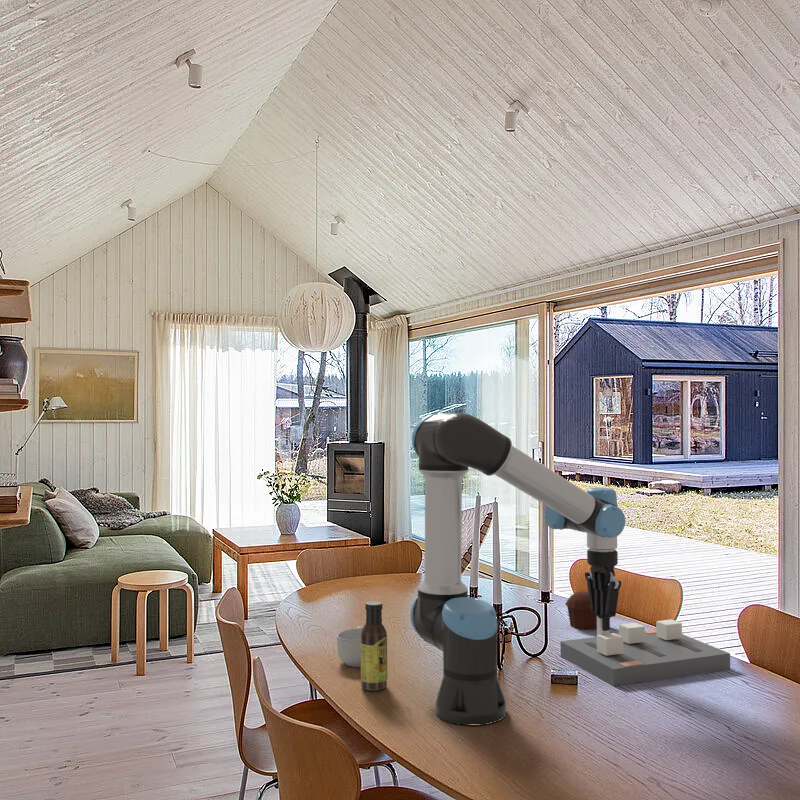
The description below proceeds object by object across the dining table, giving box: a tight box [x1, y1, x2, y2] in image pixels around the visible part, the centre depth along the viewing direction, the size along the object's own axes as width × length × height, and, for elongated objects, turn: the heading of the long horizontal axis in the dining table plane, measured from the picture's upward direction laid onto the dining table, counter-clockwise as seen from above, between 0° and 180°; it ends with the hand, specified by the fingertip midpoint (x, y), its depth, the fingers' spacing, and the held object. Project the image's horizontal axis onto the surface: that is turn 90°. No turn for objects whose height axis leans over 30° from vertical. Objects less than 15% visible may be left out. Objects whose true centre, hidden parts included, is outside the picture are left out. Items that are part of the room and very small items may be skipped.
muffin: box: [565, 591, 597, 631], centre depth 237 cm, size 12×11×10 cm
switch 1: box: [596, 632, 623, 656], centre depth 197 cm, size 4×5×4 cm
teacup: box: [336, 626, 363, 668], centre depth 206 cm, size 14×11×8 cm
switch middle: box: [618, 622, 646, 644], centre depth 206 cm, size 4×5×4 cm
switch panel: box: [559, 629, 731, 687], centre depth 202 cm, size 24×34×4 cm
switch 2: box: [655, 619, 683, 640], centre depth 209 cm, size 4×5×4 cm
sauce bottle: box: [360, 600, 388, 692], centre depth 186 cm, size 6×6×20 cm
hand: (603, 642), depth 200 cm, fingers closed
